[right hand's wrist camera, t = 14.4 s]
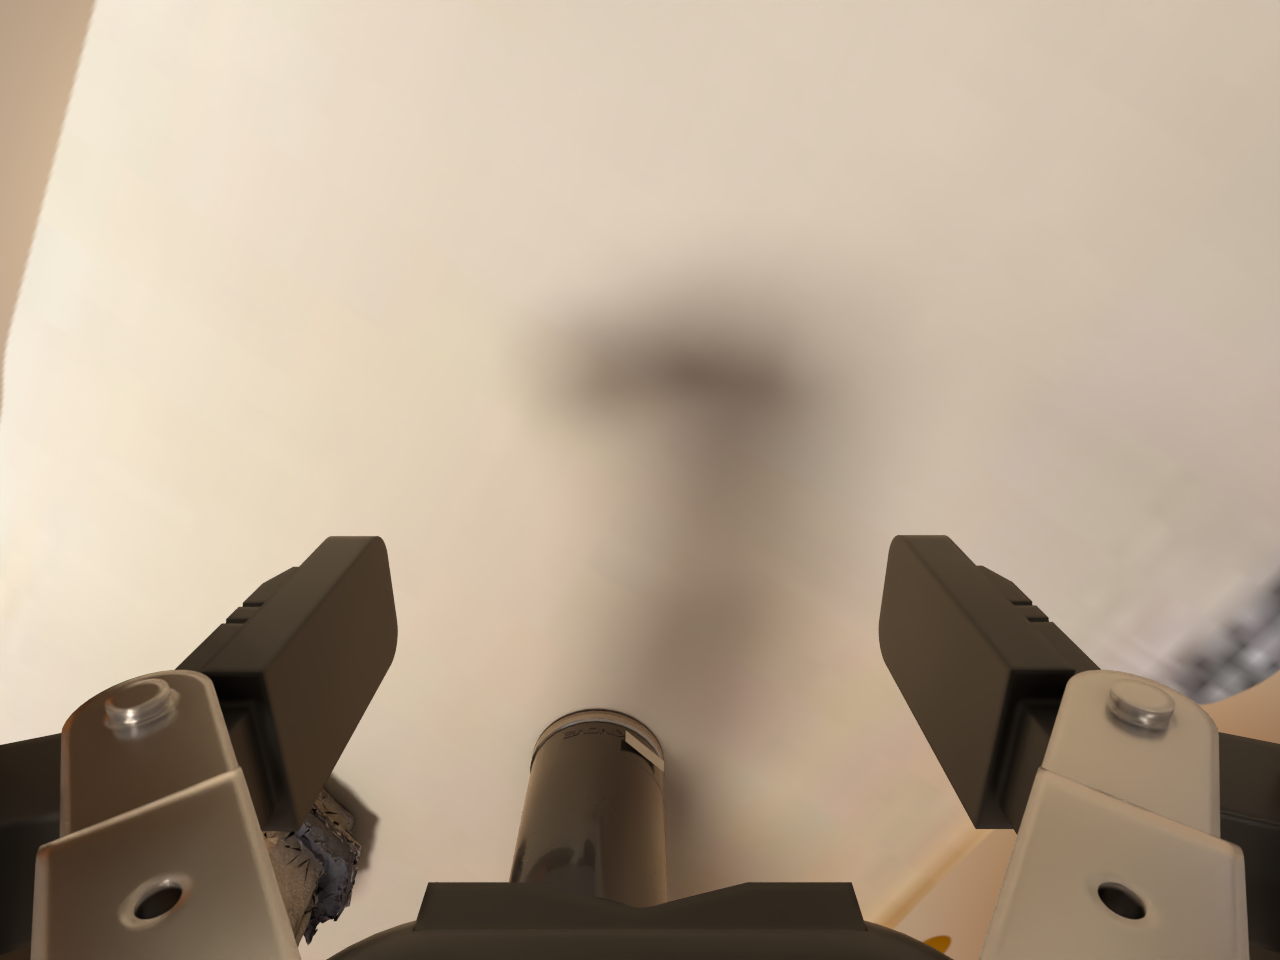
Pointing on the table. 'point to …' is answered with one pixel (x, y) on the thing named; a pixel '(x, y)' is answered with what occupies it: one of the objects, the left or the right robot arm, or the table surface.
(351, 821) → the miniature building
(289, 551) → the table surface
